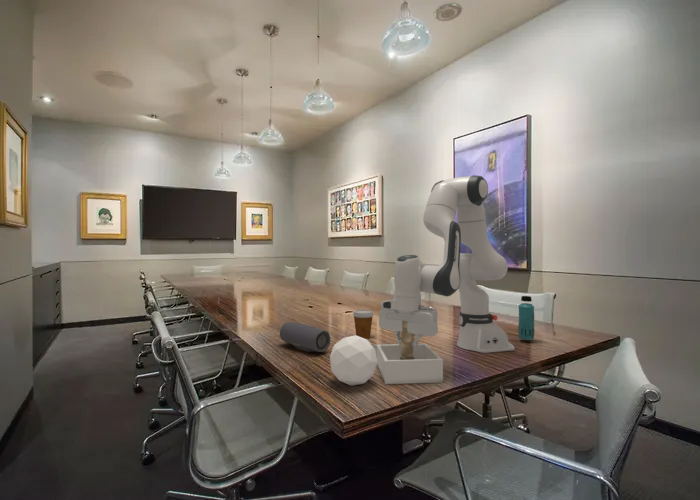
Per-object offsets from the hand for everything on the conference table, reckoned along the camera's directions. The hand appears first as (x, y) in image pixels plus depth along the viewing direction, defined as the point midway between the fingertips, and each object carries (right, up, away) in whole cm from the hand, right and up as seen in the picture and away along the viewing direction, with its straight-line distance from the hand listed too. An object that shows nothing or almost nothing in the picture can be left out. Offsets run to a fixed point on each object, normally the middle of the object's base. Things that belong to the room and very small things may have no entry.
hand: (407, 345), depth 116 cm
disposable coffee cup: (-13, -9, +45) cm, 48 cm away
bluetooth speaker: (-38, -9, +27) cm, 48 cm away
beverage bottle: (+59, -9, +38) cm, 70 cm away
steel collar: (-9, -9, +18) cm, 22 cm away
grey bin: (0, -9, 0) cm, 9 cm away
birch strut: (0, -6, 0) cm, 6 cm away
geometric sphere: (-18, -9, -8) cm, 22 cm away
